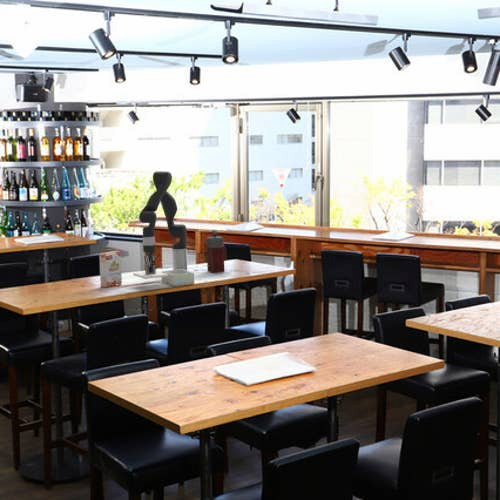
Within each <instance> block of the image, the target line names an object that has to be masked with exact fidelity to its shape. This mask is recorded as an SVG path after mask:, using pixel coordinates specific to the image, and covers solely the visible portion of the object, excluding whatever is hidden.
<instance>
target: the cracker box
mask: <svg viewBox="0 0 500 500" xmlns="http://www.w3.org/2000/svg"><path fill="white" fill-rule="evenodd" d="M98 257H99V276H100V277H99V279H100V280H99V281H100V287H101V288H106V287H107V288H111V287H110V286H112V287H115V286H114V285H116V284H120V285H122V284H123V281H122V280H123V278H122V253H121V251H120V250H113V251H108V252H102V253H99V256H98ZM121 283H122V284H121ZM116 286H117V285H116Z"/></svg>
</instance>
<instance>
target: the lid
mask: <svg viewBox="0 0 500 500" xmlns="http://www.w3.org/2000/svg"><path fill="white" fill-rule="evenodd" d="M156 269H157V268H156V265H154V266H153V272H152V273H150V272H149V266H147V265H144V271H140V272H133V276H135V277H138V278H140V279H143V280H148V279H158V278H162V277H167V276H168V274H165V273H162V271H158V270H156Z"/></svg>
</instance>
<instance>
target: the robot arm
mask: <svg viewBox="0 0 500 500" xmlns="http://www.w3.org/2000/svg"><path fill="white" fill-rule="evenodd" d="M172 181H173V175H172V173H171V171H163V170H162V171H158V170H157V171H154V172H153V174H152V182H153V185H154V188H155V189H156V190H155V191H154V192H153V193H151V195H149V198H148V200H147V203H146V205H145V206H144V207H143V208H142V210H141V211H140V212H139V215H138V219H139V221H140V223H142V224H148V225H147V226H145V227H143V228H142V249H143V250H142V251H143V252H144V253H145V254H144V255H143V258H144V262H145V265H146V266H149V272H150V273H152V272H153V266H154V265H155V263H156V256H154V253H155V252H156V247H157V246H156V238H155V237H156V236H155V228H156V223H157V219H158V217H157V213H156V211H157V210H158V208H159V205H160V204H161V207H162V211H163V213H164V217H165V220H166V224H167V230H168V234H169V236H170V238H171V239H179V241H177V242H175V243H173V244H172V246H171V247H172V270H178V269H183V270H187V271H188V256H187V253H188V252H187V240H188V239H187V237H188V235H187V232H188V231H187V225H185V224H182V223H181V224H177V223H176V224H175V221H174V219H175V217H176V214H177V212H178V205H177V201H176V198H175V197H174V196H173V195H172V194H171V192H169V191H168V189H169V188H170V186H171V184H172ZM155 266H156V265H155Z"/></svg>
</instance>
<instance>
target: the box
mask: <svg viewBox="0 0 500 500" xmlns="http://www.w3.org/2000/svg"><path fill="white" fill-rule="evenodd" d="M161 272H162V273H165V274H168V276H167V277H161V283H163V284H165V285H169V286H172V287H178V286H186V285H187V286H189V285H194V284H195V272H194V271H189V270H188V269H187V270H183V269H178V270H173V269H171V270H170V269H169V270H163V271H161Z"/></svg>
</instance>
